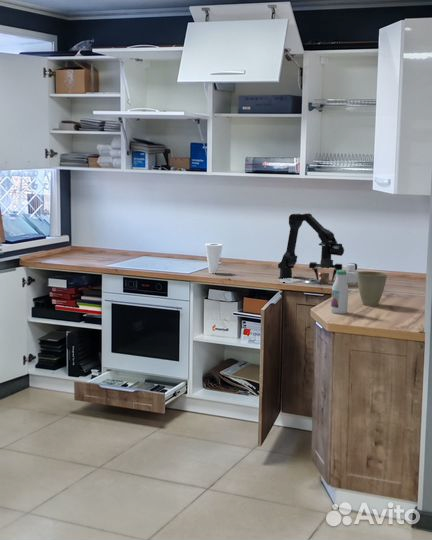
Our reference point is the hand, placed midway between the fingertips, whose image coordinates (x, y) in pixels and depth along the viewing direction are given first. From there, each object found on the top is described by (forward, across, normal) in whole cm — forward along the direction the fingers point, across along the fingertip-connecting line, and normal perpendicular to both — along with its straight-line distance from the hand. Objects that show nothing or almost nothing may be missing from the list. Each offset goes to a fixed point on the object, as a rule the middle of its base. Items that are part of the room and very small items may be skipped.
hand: (324, 280), depth 447 cm
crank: (+1, -7, +1) cm, 7 cm away
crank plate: (+3, -6, -1) cm, 6 cm away
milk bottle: (+3, +12, -80) cm, 81 cm away
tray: (+3, -20, +1) cm, 20 cm away
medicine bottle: (+3, +14, +12) cm, 19 cm away
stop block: (+2, 0, 0) cm, 2 cm away
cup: (+3, -70, +19) cm, 72 cm away
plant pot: (+3, +26, -53) cm, 59 cm away
